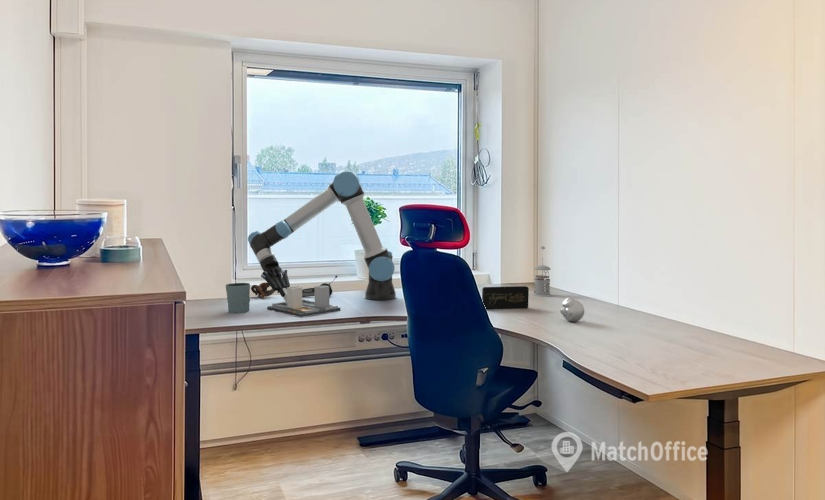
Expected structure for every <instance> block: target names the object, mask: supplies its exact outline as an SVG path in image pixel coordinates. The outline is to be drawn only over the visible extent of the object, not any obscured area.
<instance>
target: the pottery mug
mask: <svg viewBox="0 0 825 500" xmlns="http://www.w3.org/2000/svg"><path fill="white" fill-rule="evenodd" d="M268 288H271V286H270V285H269V284H268V283H267V281H265V282H261V283H260V284H259V285H257V284H253V285H251V286H250V289H251V292H252V293H253V294H255V296H258V297H260V299H262V298H263V299H264V298H265V297H268V296H269V297H270V296H272V295H273V294H274V293H276V291H274V290H273V289H272V288H271V289H268Z"/></svg>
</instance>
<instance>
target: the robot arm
mask: <svg viewBox="0 0 825 500" xmlns="http://www.w3.org/2000/svg"><path fill="white" fill-rule="evenodd" d="M364 196H365V192H364V189H363V187H362V184H361V183H360V178H359V176H358V174H356V173H355V172H354V171H353V170H349V169H347V170H342V171H339V172H338V173H337V174H336V175H335V176H334V178H333V181H332V182H331V183H329V184H328V185H327V188H326V189H324V191H321V193H319V194H318V195H317V196H315V197H314V198H312V199H310V200H309V201H308V202H307V203H305V204H304V205H302V206H301V207H299V208H298V209H297V210H295V211H294V212H293V213H291V214H290V215H288V216H287V217H285V218H284V219H283V220H280V221H279V222H276V223H275V224H274V225H272V226H271V227H269V228H267V229H266V230H265V231H260V230H256V231H253V232H251V233H249V235H248V237H247V242H248V244H249V246H250V248H251V249H252V252H253V253H254V255H255V257H256V259H257V261H258V263H259V265H260V267H261V269H262V271H263V272H262V273H261V274H260V277H261V278H263V280H265V282H267V283H268V284H269V285H270V288H271V289H273V290H274V291H275V292H276V293H277V294H280V296H281V297H282V298H283V301H284V302H286V304H287V288H288V287H291V284H290V280H289V277H288V270H287V269H285V270H284V269H282V267H281V266H280V265H279V262H278V260H277V257H276V255H275V254H274V252H273V251H272V248H271V247H273V246H274V245H276V244H277V243H279V242H280V241H282V240H285V239H287V238H288V237H289V236H290V235H291V234H293V233H295V232H296V231H297V230H298V229H300V228H301V227H303V226H305V224H307V223H309V222H310V221H311V220H312V219H314V218H315V217H317V216H318V215H320V214H321V213H322V212H324V211H325V210H326V209H328V208H329V207H331V206H332V205H334V204H335V203H336V202H339V203H340V204H341V205H344V206H345V207H346V210H347V212H348V214H349V217H350V220H351V223H352V224H353V226H354V228H355V229H354V230H355V232H356V233H357V236H358V239H359V241H360V243H361V246H362V249H363V250H364V253H365V254H364V257H363V259H364V262H365V264H366V267H367V269H368V283H367V286H366V290H365V293H364V294H365V295H364V298H365V299H367V300H374V301H385V300H387V301H388V300H394V299H396V297H397V292H396V290H395V287H394V283H393V276H394V273H395V264H394V262H393V252H392V251H390V250H389V251H388V248H387V247H385V246H383V244H382V242H381V239H380V237H379V234H378V232H377V230H376V227H375V225H374V223H373V220H372V217H371V215H370V213H369V210H368V207H367V206H366V202H365V200H364Z"/></svg>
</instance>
